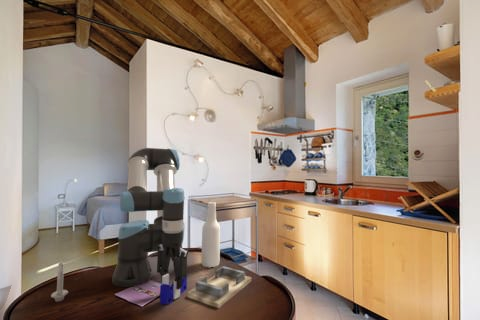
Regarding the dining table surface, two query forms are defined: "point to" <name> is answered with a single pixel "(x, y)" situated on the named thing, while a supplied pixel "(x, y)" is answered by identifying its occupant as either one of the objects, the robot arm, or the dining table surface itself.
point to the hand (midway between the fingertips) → (170, 295)
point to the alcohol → (211, 239)
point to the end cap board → (219, 286)
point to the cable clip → (170, 291)
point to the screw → (60, 285)
